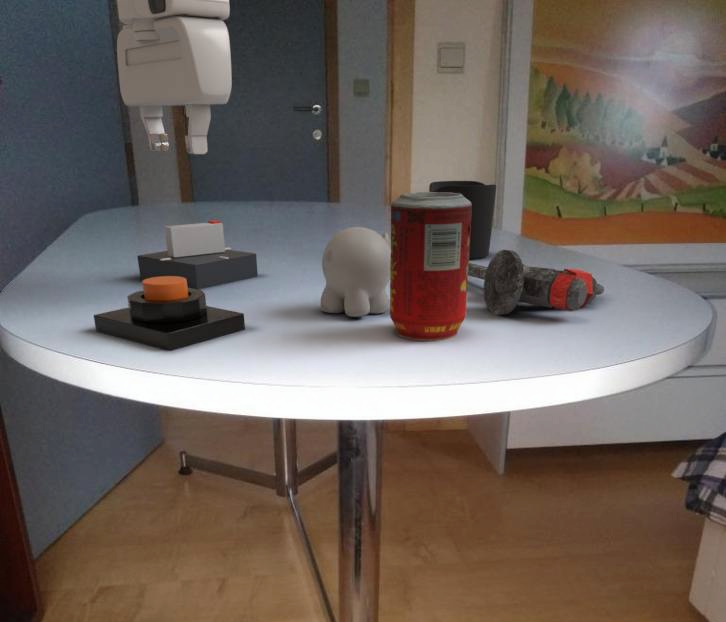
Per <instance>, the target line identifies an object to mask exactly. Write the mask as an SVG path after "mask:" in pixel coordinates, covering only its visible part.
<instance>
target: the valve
mask: <svg viewBox="0 0 726 622" xmlns="http://www.w3.org/2000/svg"><path fill="white" fill-rule="evenodd" d="M468 277H471V278H475V279H480V280H483V281H484V282H483V296H484V297H483V298H484V301H485V304H486V305H485V306H486V307H487V309H488V311H489V312H490V313H492V314H494V315H496V316H507V315H508V314H510V313H512V312H513V310H515V308H516V307H517V305H518V303H521V304H522V303H523V304H531V305H535V306H541V307H545V308H549V309H552V308H554V309H556V310H561V311H566V312H573V311H576V310H578V309H583V308H584V307H585V306H586V305H587V304H589V303H591V302H592V301H594V300H595V298H596V297H597V295H603V294H604V292H605V288H604V286H603V285H601V284H600V283H598V282H597V280H596V278H595V277H593V273H590V272H587V271H585V270H580V269H573V268H564V269H563V270H559V269H555V268H548V267H538V266H527V265H525V264H524V263H523V262H522V259H521V256H520V255H519V254H518V253H517V252H516V251H514V250H511V249H501V250H499V251H498V252H496V253H495V254H494V255H493V257H492V258H491V259H490V261H489V263H488V265H487V266H484V265H481V264H476V263H472V262H469V267H468Z"/></svg>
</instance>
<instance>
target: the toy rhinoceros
mask: <svg viewBox="0 0 726 622" xmlns="http://www.w3.org/2000/svg"><path fill="white" fill-rule="evenodd" d="M390 260H391V238H389V234H388V232H386V231H384V232H383V234H382V235H381V234H379V233H378V232H377V231H375V230H374V229H371V228H368V227H363V226H352V227H347V228H345V229H342V230H340V231H339V232H337V233H336V234H335V235H334V236H332V238H331V239H329V241H328V243H327V244H326V245H325V248H324V251H323V254H322V259H321V267H322V274H323V278H324V279H325V286H324V289H323V291H322V293H321V296H320V302H319V303H320V309H321V310H322V311H323V312H325V313H328V314H342V313H343V312H344V313H345V315H346V316H348V317H351V318H355V317H365V316H367V315H368V314H373V315H375V314H384V313H386V312H387V311H388V309H389V296H388V293H387V289H386V288H387V286H388V284H389V283H390Z"/></svg>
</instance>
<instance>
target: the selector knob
mask: <svg viewBox="0 0 726 622" xmlns="http://www.w3.org/2000/svg"><path fill="white" fill-rule="evenodd" d="M164 235H165V242H166V249H167V250H166V251H168V256H170V257H173V258H177V257H186V256H195V255H203V254H212V253H221V252H225V248H226V245H225V236H224V235H225V234H224V225H223V223H222V222H221V221H220V220H217V219H213V220H207V222H200V223H199V222H198V223H188V224H178V225H167V226H166V225H165V226H164Z"/></svg>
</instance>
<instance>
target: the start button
mask: <svg viewBox="0 0 726 622" xmlns="http://www.w3.org/2000/svg"><path fill="white" fill-rule="evenodd" d="M141 283H142V284H141V285H142V291H144V298H145V299H146V300H159V301H165V300H176V299H181V298H186V297H189V296H188V287H187V279H186V278H184V277H178V276H161V277H153V278H148V279H145V280H144V279H142V282H141Z"/></svg>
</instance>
